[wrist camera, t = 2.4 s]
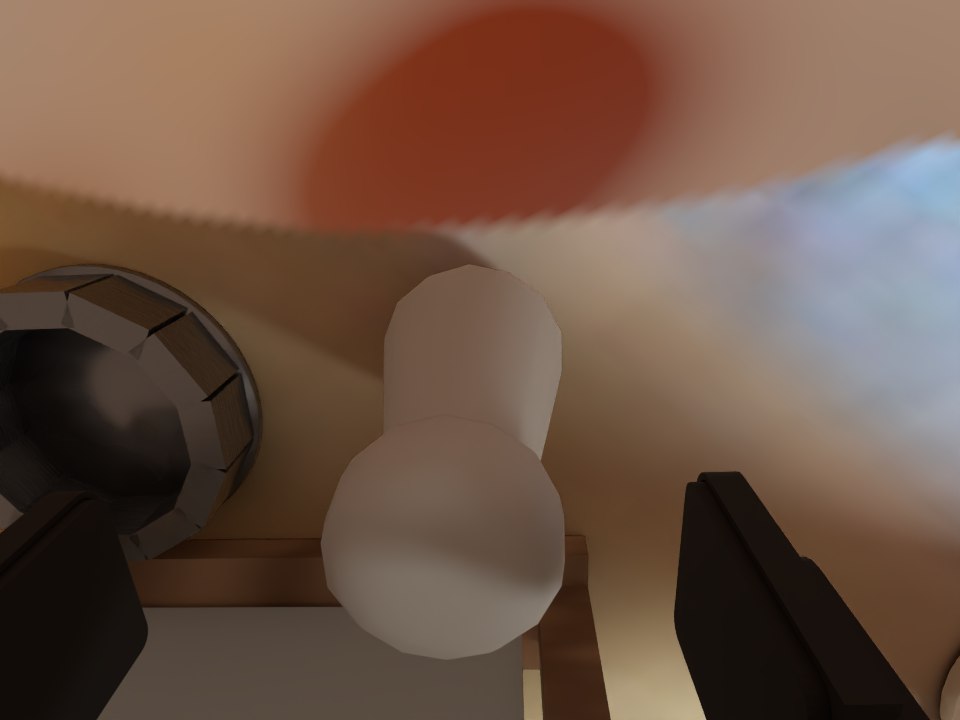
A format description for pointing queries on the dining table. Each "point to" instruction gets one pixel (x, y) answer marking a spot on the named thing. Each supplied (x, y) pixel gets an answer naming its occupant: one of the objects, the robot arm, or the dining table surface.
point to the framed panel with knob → (302, 583)
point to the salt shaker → (455, 474)
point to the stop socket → (122, 403)
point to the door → (304, 671)
